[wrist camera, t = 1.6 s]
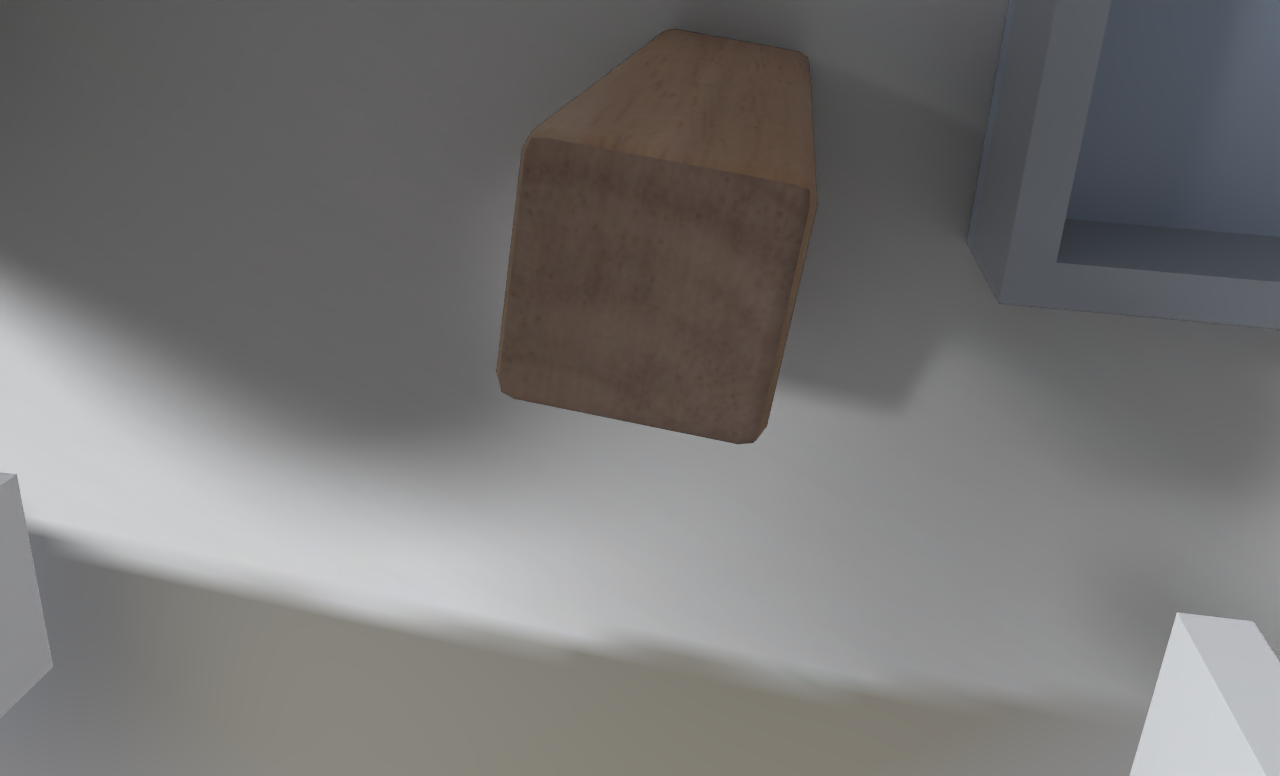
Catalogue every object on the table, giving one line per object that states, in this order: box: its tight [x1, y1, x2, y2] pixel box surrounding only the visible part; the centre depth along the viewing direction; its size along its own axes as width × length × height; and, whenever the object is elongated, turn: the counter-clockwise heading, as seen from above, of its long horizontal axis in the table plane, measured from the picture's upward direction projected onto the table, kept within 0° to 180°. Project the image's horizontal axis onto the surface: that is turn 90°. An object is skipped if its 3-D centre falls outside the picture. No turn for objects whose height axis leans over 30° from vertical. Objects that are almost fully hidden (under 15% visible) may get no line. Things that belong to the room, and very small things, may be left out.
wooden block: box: [496, 29, 817, 444], centre depth 26 cm, size 9×4×18 cm, turn 170°
